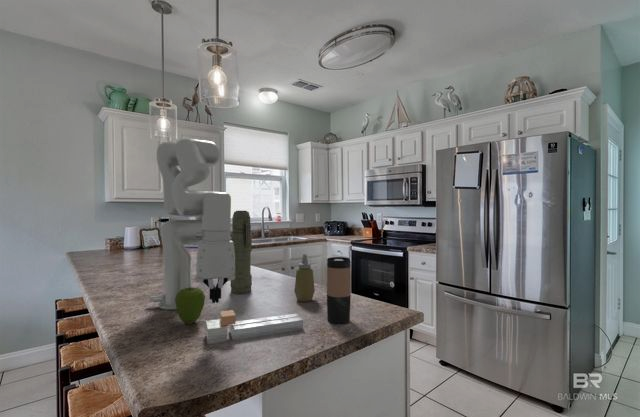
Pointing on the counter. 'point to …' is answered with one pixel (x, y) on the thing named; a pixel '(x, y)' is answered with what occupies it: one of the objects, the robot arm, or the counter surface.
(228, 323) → the block
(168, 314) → the counter surface
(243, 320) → the arm
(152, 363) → the counter surface
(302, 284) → the squeeze bottle
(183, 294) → the apple
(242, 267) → the thermos
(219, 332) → the base
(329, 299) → the travel mug
